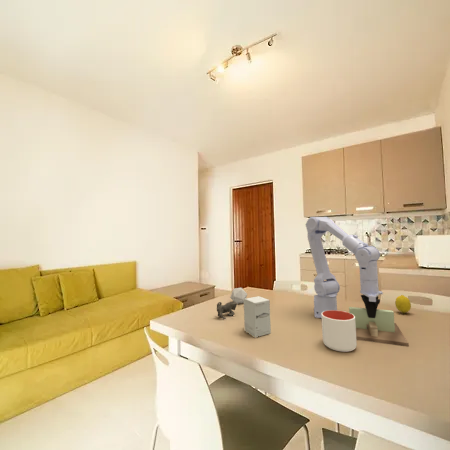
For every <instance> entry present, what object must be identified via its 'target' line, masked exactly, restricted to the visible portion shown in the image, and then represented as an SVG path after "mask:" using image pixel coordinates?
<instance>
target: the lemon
mask: <svg viewBox="0 0 450 450" xmlns="http://www.w3.org/2000/svg"><path fill="white" fill-rule="evenodd" d="M394 305H395V307H396V309H397V310H398V311H399V312H401V313H402V314H406V313H408V312H409V311H410V310H411V309H412V304H411V301H410V299H409V298H408V296H406V295H403V294H401V295H398V296H397V297H396V298H395V302H394Z"/></svg>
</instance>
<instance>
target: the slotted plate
mask: <svg viewBox="0 0 450 450" xmlns="http://www.w3.org/2000/svg"><path fill="white" fill-rule="evenodd" d="M348 313H351V314H353V315H354V316H355V324H356V328H361V329H367V324H369V322H375V323H376V326H377V328H378V330H379V331H387V332H395V324H394V323H395V312H394V311H393V310H389V309H381V308H380V309H378V308H377V311H376V316H375V318H369V317H368V315H367V311H366V308H365V307H356V306H348Z"/></svg>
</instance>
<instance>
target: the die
mask: <svg viewBox="0 0 450 450" xmlns="http://www.w3.org/2000/svg"><path fill="white" fill-rule="evenodd" d="M247 296H248V293H247V291H245V290H244V288H243V287H236V288H233V289H232V291H231V294H230V297H229V298H230V299H231V300H232V301H234V302H236V303H237V305H239V303H240V304H244V299H246V298H248V297H247Z"/></svg>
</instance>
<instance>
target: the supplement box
mask: <svg viewBox="0 0 450 450" xmlns="http://www.w3.org/2000/svg"><path fill="white" fill-rule="evenodd" d="M270 305H271V303H270V299H268V298H265V297H262V296H259V295H258V296H253V297H246V299H244V303H243V319H244V325H243V326H244V332H245V331H246V332H245V333H247V332H248V333H249V334H248V333H247V334H248V335H250V334H251V335H252V336H251V335H250V336H251V337H253V336H254V337H253V338H255V337H256V338H258V336H259V337H263V336H264V335H265V336H266V335H269V334H271V333H272V331H271V329H272V327H271V326H272V325H271V308H270V307H271V306H270Z"/></svg>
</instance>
